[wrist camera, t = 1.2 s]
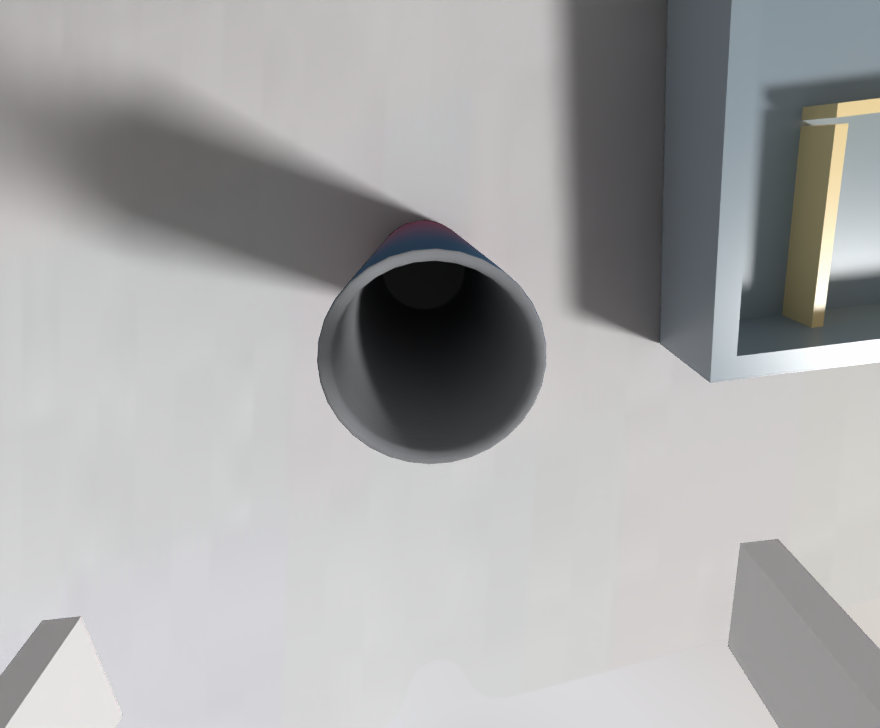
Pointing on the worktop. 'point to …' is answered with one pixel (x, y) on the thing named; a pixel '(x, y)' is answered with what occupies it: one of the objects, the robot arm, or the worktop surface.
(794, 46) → the walled box
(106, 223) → the worktop surface
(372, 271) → the cup
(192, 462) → the worktop surface
